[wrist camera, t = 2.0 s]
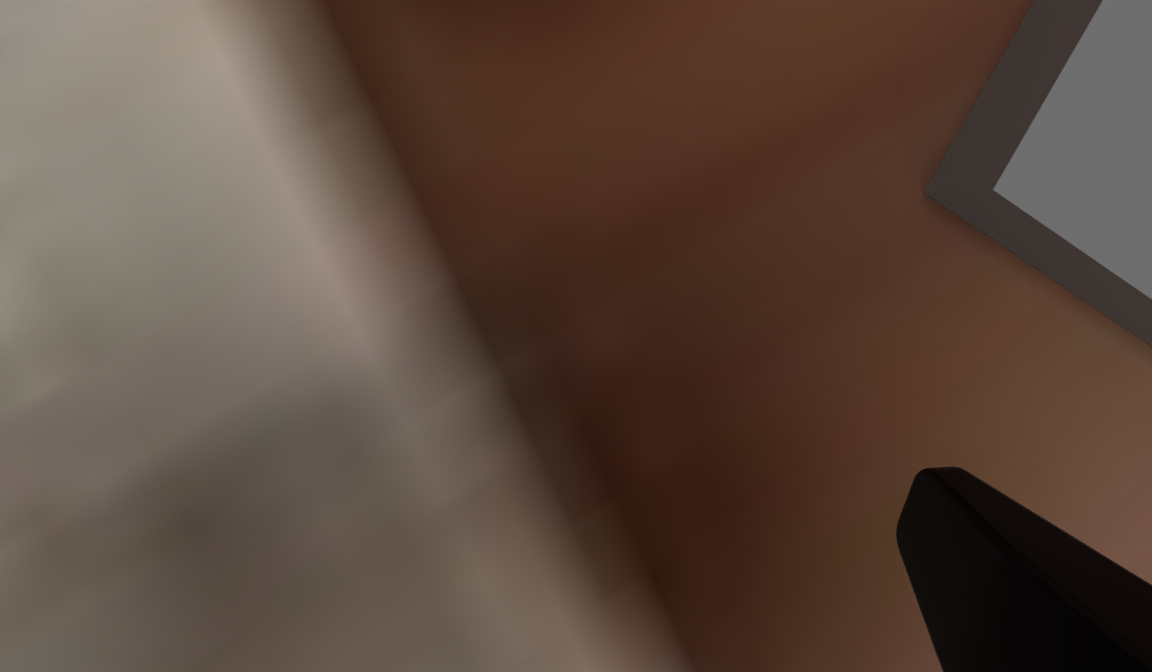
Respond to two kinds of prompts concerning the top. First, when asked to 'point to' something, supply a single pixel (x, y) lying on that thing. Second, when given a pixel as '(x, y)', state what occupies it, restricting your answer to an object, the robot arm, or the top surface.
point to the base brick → (1067, 154)
